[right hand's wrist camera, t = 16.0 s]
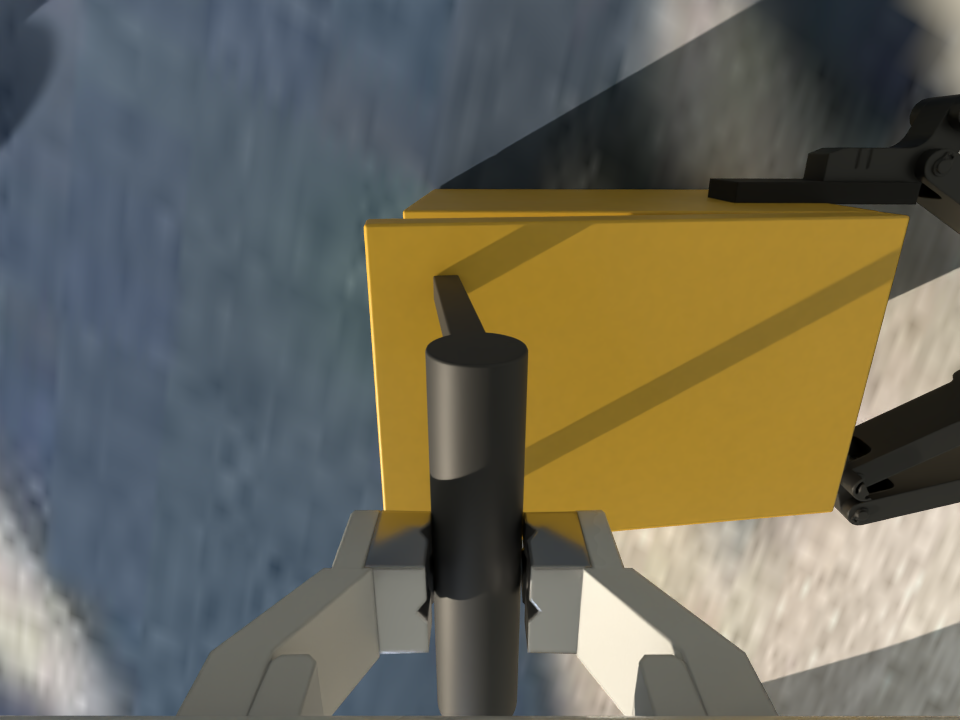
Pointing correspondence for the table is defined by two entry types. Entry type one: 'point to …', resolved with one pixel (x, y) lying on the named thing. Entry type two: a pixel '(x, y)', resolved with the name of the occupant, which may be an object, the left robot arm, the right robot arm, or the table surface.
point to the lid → (609, 386)
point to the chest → (592, 203)
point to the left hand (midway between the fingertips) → (701, 328)
